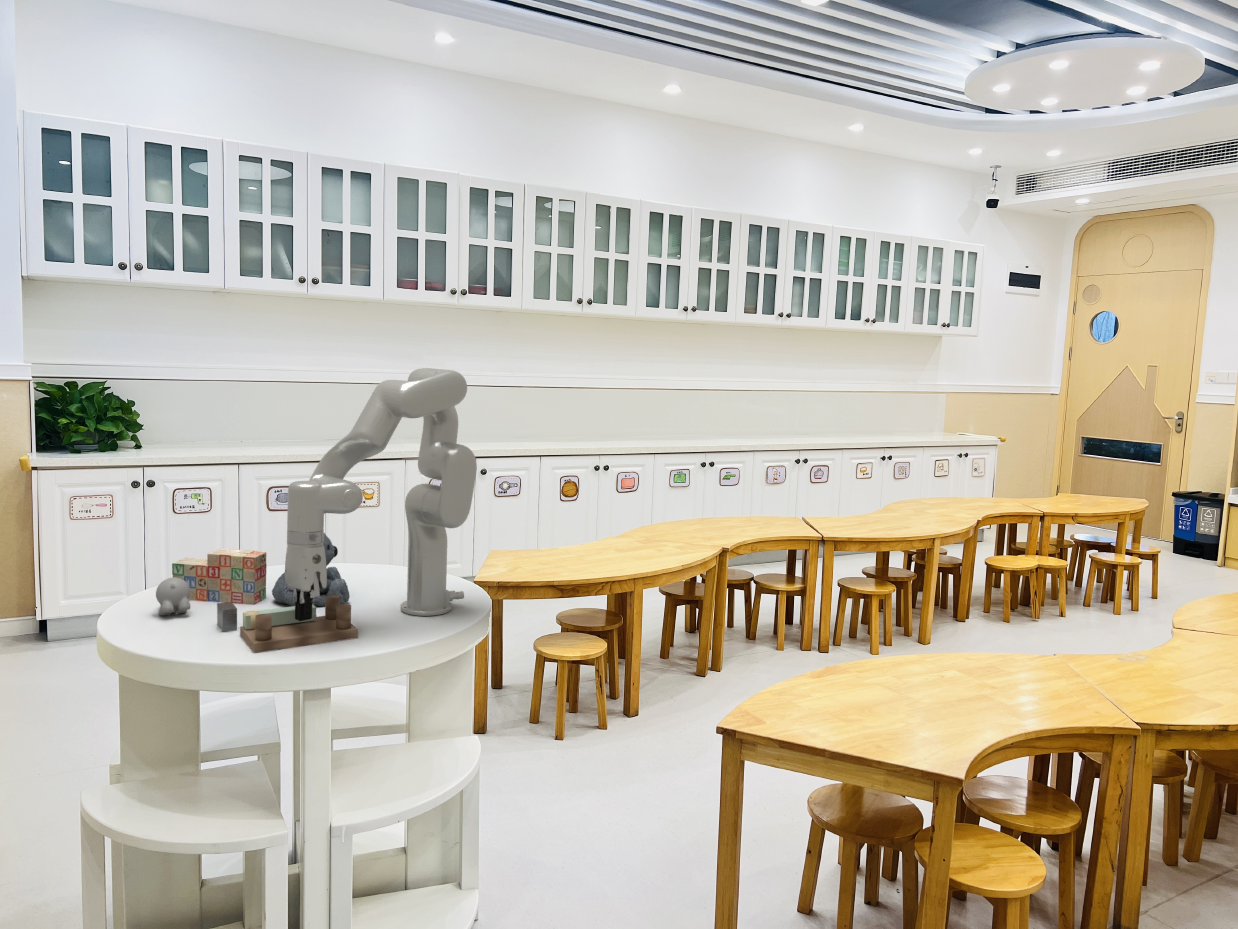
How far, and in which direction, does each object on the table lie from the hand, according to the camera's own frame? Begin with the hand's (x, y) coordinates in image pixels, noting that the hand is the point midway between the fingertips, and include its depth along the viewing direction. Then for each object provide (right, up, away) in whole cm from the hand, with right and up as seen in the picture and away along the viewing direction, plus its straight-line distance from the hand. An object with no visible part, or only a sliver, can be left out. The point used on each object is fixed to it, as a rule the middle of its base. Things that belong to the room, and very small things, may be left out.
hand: (303, 619), depth 193 cm
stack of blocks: (-31, 0, +27) cm, 41 cm away
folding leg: (-6, -1, +3) cm, 7 cm away
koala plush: (-9, -1, +29) cm, 30 cm away
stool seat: (-1, -4, +1) cm, 4 cm away
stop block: (-19, -3, +5) cm, 20 cm away
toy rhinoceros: (-36, -1, +14) cm, 39 cm away
